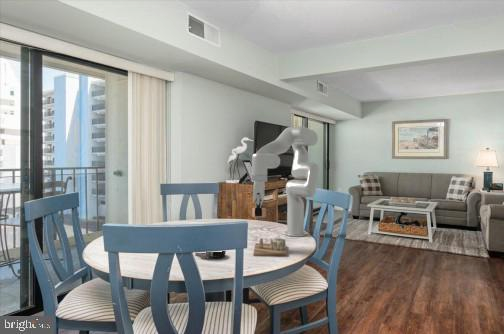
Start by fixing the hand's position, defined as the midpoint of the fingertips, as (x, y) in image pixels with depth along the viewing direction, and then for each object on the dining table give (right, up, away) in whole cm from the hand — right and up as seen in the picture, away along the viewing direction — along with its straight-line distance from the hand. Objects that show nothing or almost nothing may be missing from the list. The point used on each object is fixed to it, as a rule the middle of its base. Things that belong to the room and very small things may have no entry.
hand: (258, 214), depth 169 cm
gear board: (+5, -17, -5) cm, 18 cm away
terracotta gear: (0, -1, 0) cm, 1 cm away
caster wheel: (-21, -17, -15) cm, 31 cm away
